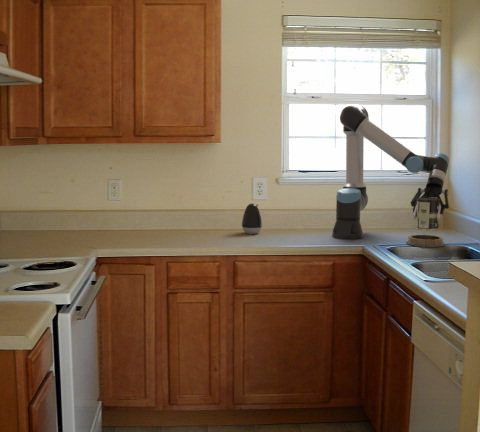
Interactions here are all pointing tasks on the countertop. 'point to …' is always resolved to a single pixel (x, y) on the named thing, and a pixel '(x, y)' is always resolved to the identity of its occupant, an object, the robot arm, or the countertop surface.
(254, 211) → the black egg-shaped speaker
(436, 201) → the coffee can
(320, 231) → the countertop surface
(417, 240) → the collar
